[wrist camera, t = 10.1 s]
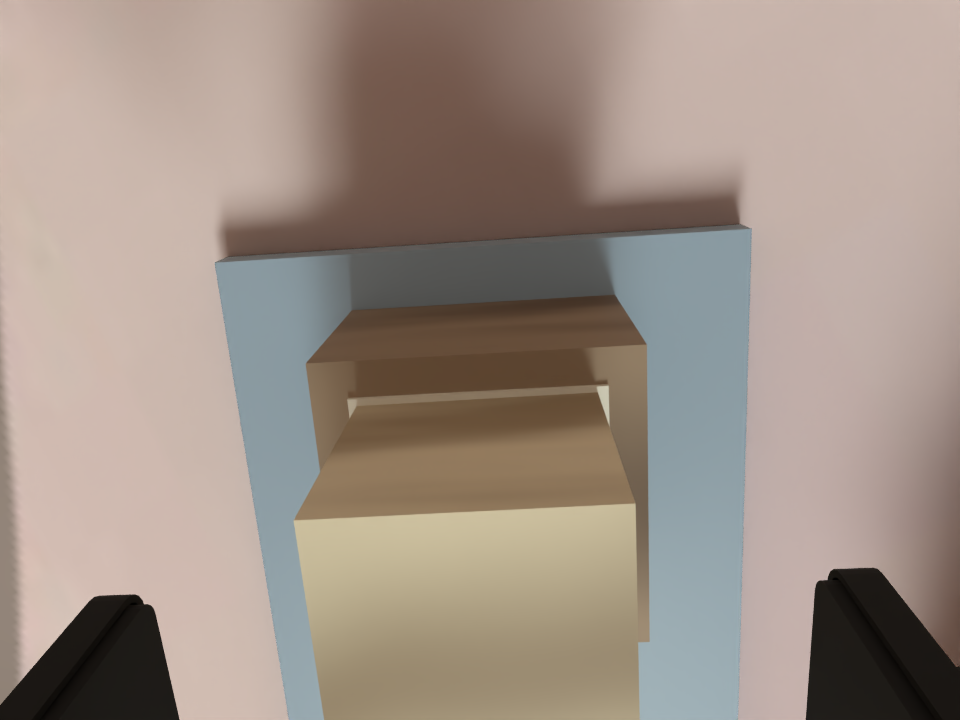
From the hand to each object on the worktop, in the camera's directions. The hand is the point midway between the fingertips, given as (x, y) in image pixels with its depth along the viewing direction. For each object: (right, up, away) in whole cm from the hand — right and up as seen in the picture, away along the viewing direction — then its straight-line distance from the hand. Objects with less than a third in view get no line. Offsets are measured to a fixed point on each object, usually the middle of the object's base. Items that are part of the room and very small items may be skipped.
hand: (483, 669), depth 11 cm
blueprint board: (+1, -3, +13) cm, 14 cm away
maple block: (0, +1, +6) cm, 6 cm away
